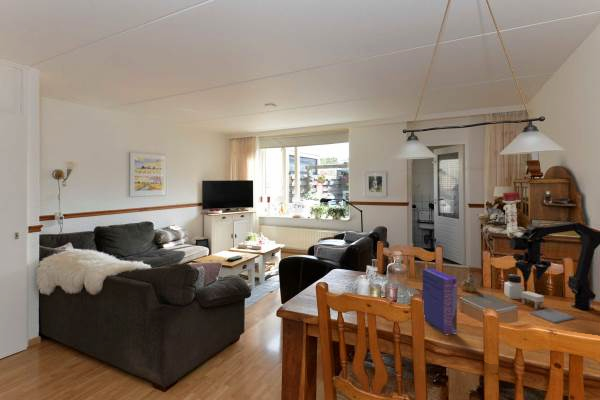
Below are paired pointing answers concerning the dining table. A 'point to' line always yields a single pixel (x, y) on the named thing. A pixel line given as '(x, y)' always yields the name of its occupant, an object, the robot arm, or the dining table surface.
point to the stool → (532, 298)
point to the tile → (552, 315)
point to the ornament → (469, 285)
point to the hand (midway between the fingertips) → (532, 280)
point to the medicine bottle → (513, 287)
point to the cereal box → (440, 300)
